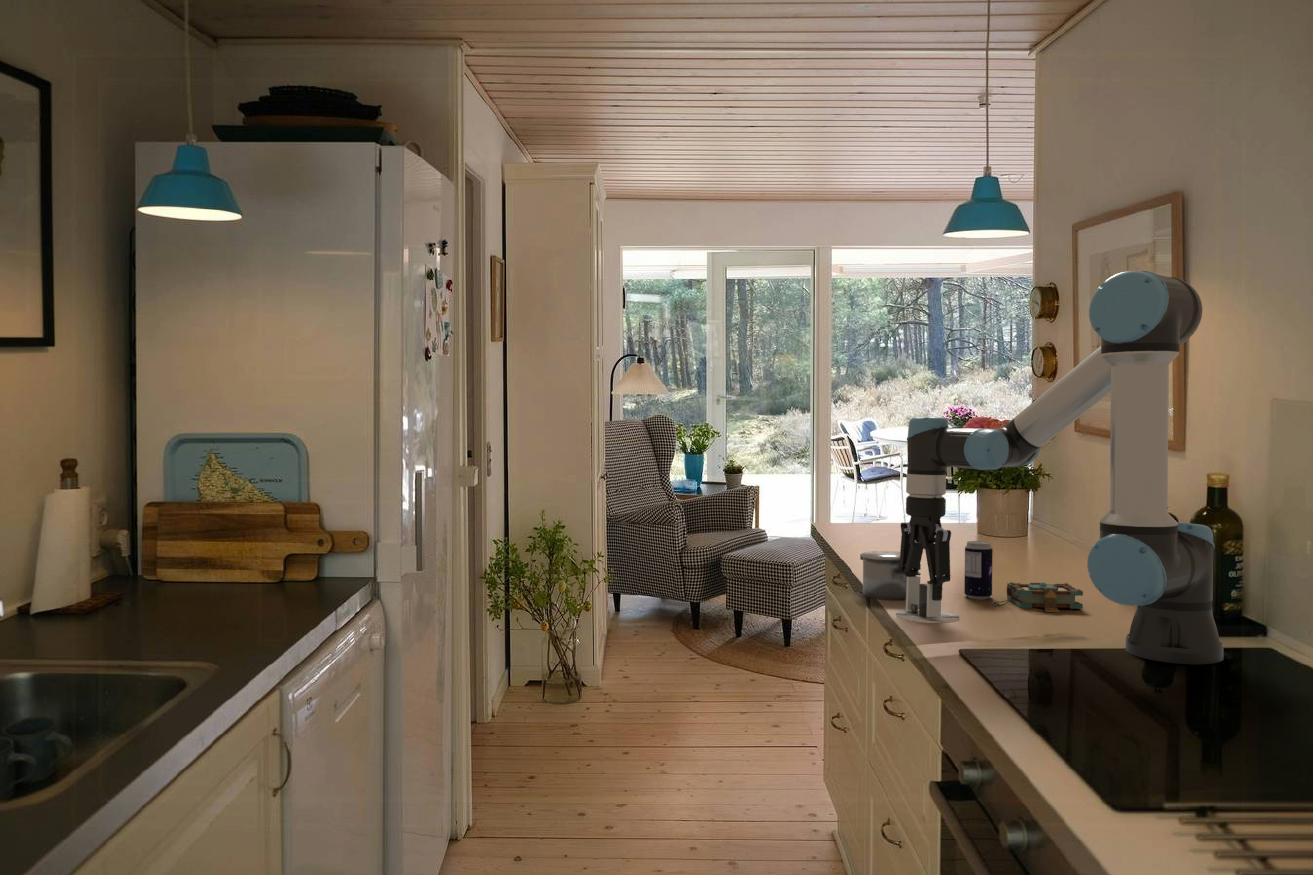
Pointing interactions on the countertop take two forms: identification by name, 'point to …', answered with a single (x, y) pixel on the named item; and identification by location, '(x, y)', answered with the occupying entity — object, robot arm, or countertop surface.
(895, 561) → the pot
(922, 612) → the lid
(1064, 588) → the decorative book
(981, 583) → the beverage can
